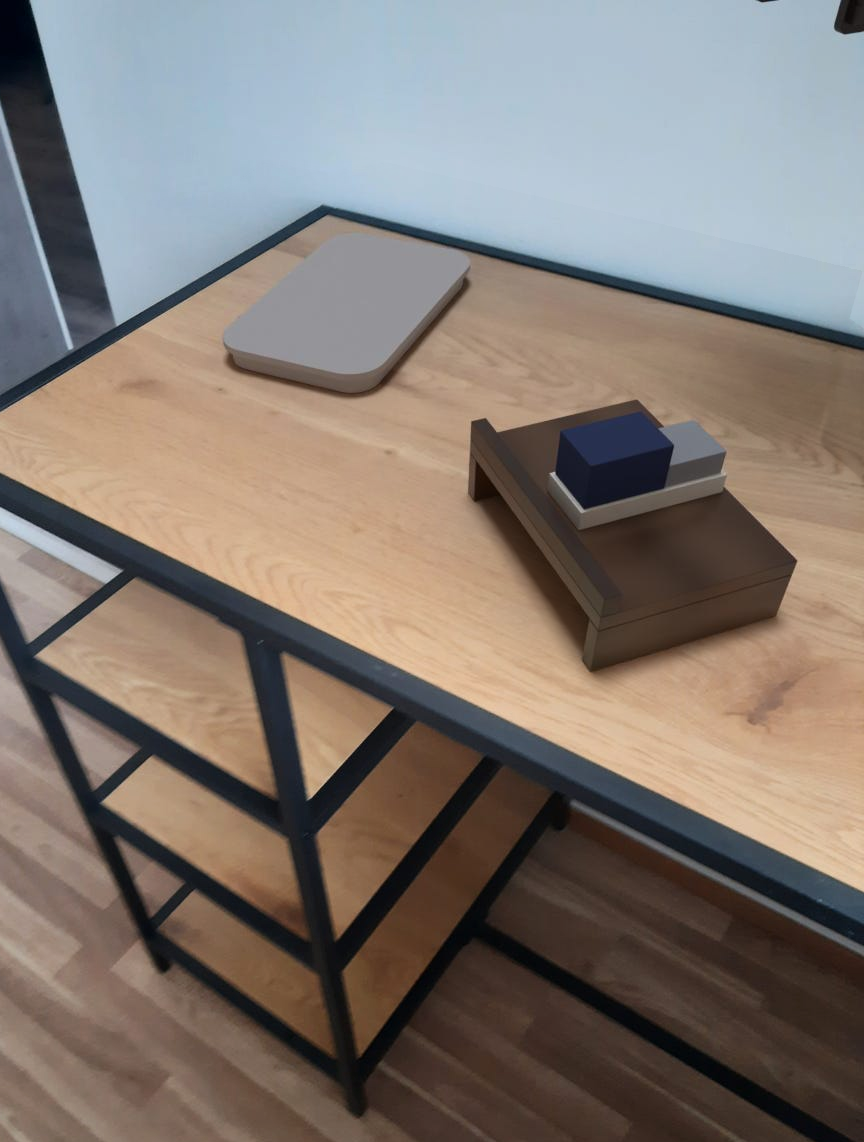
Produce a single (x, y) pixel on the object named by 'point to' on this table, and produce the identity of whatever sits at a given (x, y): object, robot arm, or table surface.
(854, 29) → the robot arm
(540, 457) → the dark wooden stand
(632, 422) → the stacked block set
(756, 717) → the table surface
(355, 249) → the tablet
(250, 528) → the table surface
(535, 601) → the table surface
